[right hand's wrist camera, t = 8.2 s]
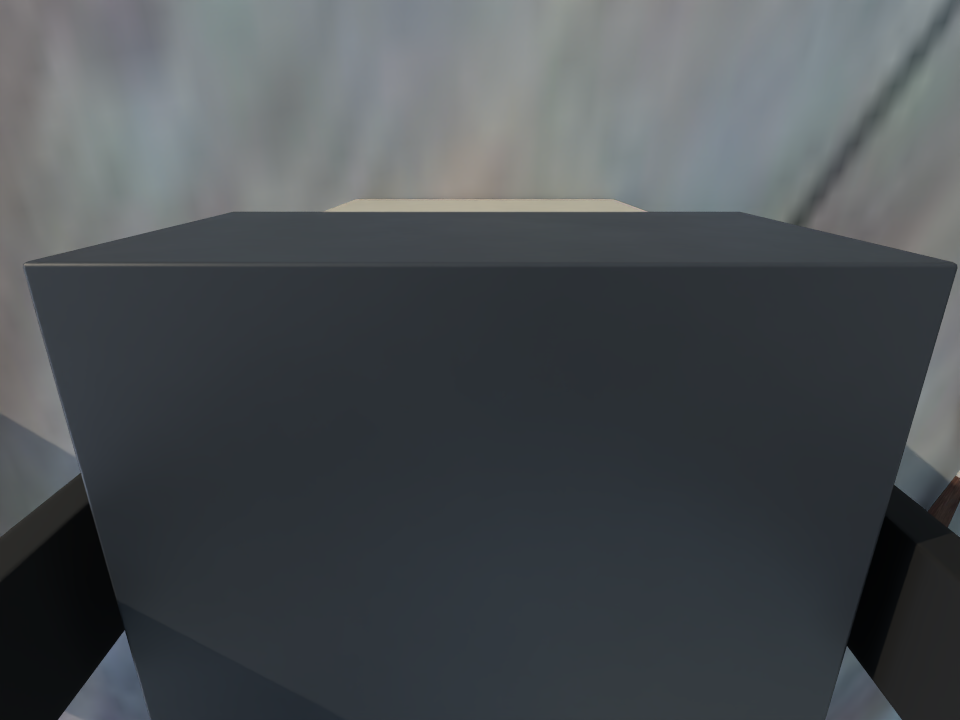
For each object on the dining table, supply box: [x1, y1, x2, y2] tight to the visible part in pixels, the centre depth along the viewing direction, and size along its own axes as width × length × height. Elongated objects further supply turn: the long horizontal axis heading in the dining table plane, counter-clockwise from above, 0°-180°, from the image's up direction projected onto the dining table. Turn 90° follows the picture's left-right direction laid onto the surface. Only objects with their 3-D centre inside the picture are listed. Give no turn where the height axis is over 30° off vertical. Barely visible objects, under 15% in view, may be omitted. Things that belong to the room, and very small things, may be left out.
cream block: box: [324, 199, 647, 212], centre depth 23 cm, size 10×34×10 cm, turn 0°
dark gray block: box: [23, 212, 957, 720], centre depth 11 cm, size 11×11×6 cm
